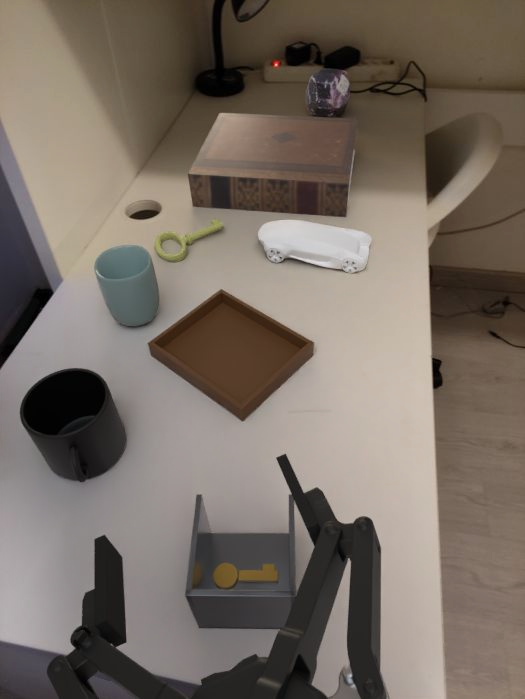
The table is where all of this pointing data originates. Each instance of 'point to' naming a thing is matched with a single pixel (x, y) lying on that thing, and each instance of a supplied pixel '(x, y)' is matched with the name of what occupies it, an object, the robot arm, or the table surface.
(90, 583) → the table surface
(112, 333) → the table surface
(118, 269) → the cup
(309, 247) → the toy car
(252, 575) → the brass key
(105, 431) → the mug
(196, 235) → the key
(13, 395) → the table surface
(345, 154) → the book
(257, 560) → the grey open-sided box
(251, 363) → the tray
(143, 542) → the table surface
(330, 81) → the mineral specimen
